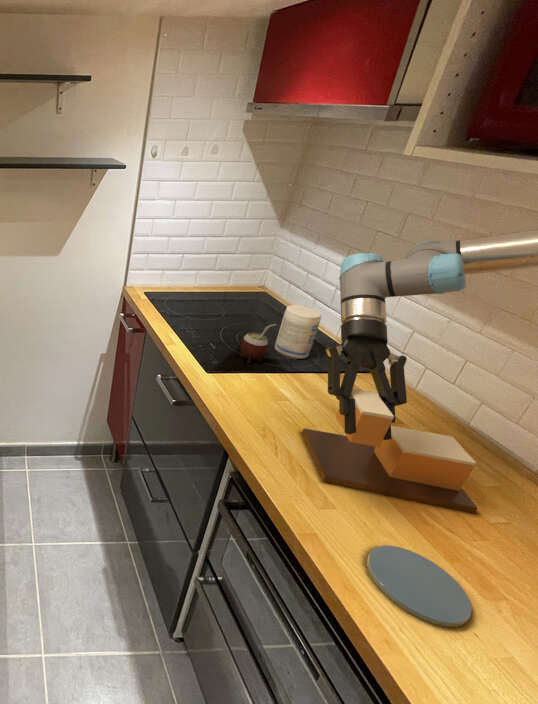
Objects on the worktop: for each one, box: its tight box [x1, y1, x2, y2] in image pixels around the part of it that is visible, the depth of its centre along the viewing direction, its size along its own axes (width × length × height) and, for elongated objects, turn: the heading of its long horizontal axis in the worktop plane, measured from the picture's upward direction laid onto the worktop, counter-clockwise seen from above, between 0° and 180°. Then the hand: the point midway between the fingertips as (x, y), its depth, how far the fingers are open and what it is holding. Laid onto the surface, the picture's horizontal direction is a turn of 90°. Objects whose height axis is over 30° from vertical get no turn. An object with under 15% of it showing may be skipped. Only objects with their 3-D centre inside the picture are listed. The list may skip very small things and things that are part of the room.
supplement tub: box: [274, 304, 322, 360], centre depth 140 cm, size 10×10×15 cm
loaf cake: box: [374, 425, 477, 491], centre depth 94 cm, size 12×8×8 cm, turn 73°
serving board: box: [301, 427, 479, 514], centre depth 97 cm, size 26×16×2 cm, turn 73°
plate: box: [366, 545, 473, 628], centre depth 73 cm, size 13×13×1 cm
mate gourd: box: [239, 323, 278, 364], centre depth 135 cm, size 8×8×15 cm
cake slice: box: [335, 388, 394, 447], centre depth 89 cm, size 5×8×8 cm, turn 162°
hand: (367, 435), depth 86 cm, fingers closed on cake slice, 5 cm apart
